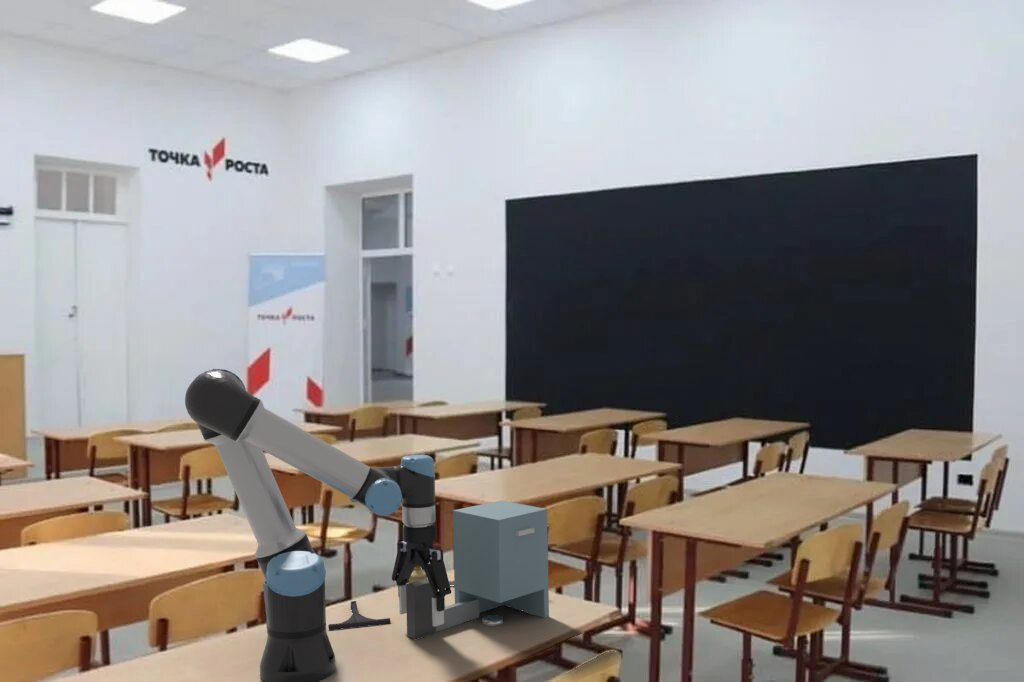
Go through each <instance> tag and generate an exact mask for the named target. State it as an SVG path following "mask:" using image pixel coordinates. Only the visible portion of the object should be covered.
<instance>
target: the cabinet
mask: <svg viewBox="0 0 1024 682" xmlns="http://www.w3.org/2000/svg"><path fill="white" fill-rule="evenodd" d="M452 525H453V531H452V532H453V572H454V574H453V575H454V576H453V578H454V579H453V580H454V586H453V587H454V604H456V603H460V602H463V601H466V600H469V599H473V598H477V599H479V612H480V613H482V612H486V611H490V610H492V608H493V609H496V608H498V606H499V607H502V606H504V605H505V607H507V606H509V607H508V608H511V607H512V608H511V609H514V608H515V609H514V610H517V609H518V611H520V610H523V611H525V612H524V613H527V612H528V613H527V614H530V613H531V614H530V615H533V614H534V616H537V617H540V618H543V619H546V618H549V617H550V605H549V604H550V603H549V602H550V599H549V594H550V593H549V552H548V551H549V545H548V543H549V542H548V541H549V540H548V535H549V534H548V509H547V508H543V507H538V506H534V505H527V504H523V503H517V502H511V501H508V500H507V501H506V500H497V501H492V502H488V503H487V502H486V503H483V504H478V505H473V506H469V507H464V508H459V509H453V510H452ZM501 605H502V606H501ZM495 607H496V608H495ZM523 611H522V612H523Z"/></svg>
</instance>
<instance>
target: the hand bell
mask: <svg viewBox="0 0 1024 682" xmlns="http://www.w3.org/2000/svg"><path fill="white" fill-rule="evenodd" d="M424 579H428V578H427V576H426V573H425V571H424V570H422V568H421V566H419V565H417V564H416V565H415V567H414V570H413V572H412V574H411V576H410V578H409V581H410V582H409V581H408V583H407V584H409V583H413V582H416V581H420V580H424Z"/></svg>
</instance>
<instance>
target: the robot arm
mask: <svg viewBox="0 0 1024 682" xmlns="http://www.w3.org/2000/svg"><path fill="white" fill-rule="evenodd" d="M184 396H185V397H184V405H185V409H186V411H187V414H188V415H189V417H190V419H192V420H193V421H194V422H195V423H197V426H198V428H199V431H200V433H201V435H202V437H203V440H204V441H205V442H206V443H210V444H212V445H214V446H215V448H216V450H217V452H218V455H219V457H220V460H221V461H222V465H223V467H224V468H225V471H226V474H227V475H228V478H229V480H230V483H231V485H232V488H233V490H234V492H235V494H236V497H237V499H238V501H239V504H240V506H241V508H242V511H243V513H244V515H245V516H246V519H247V521H248V524H249V526H250V528H251V531H252V534H253V535H254V538H255V540H256V542H257V548H256V551H255V553H254V555H255V558H256V561H257V563H258V566H259V567H260V571H261V572H262V575H263V577H264V579H265V580H266V582H267V613H268V634H267V639H266V643H265V645H264V650H263V653H262V657H261V660H260V663H259V677H260V678H261V680H262V681H264V682H319V681H321V680H323V679H326V678H327V677H329V676H331V675H332V674H333V673H334V672H335V671H336V655H335V652H334V649H333V647H332V644H331V641H330V638H329V635H328V633H327V617H326V616H327V615H326V612H327V610H326V573H327V571H326V570H327V569H326V567H325V562H324V559H323V557H322V556H320V555H319V554H317V553H316V552H315V550H314V548H313V546H312V544H311V542H310V539H309V538H308V535H307V532H306V531H305V530H303V529H300V528H297V527H296V524H295V523H294V520H293V518H292V515H291V514H290V512H289V509H288V508H289V507H288V505H287V504H286V502H285V499H284V497H283V495H282V493H281V490H280V487H279V485H278V483H277V481H276V478H275V476H274V474H273V472H272V469H271V467H270V464H269V462H268V460H267V458H266V455H265V453H264V452H266V453H267V454H269V455H271V456H272V457H275V458H276V459H279V460H280V461H282V462H284V463H286V464H288V465H290V467H293V468H294V469H297V470H299V472H302V473H304V474H306V475H308V476H309V477H311V478H313V479H315V480H317V481H319V482H321V483H322V484H325V485H326V486H328V487H329V488H332V489H334V490H336V491H338V492H339V493H341V494H343V495H344V496H347V497H348V498H349V501H351V503H358V504H361V505H363V506H364V507H366V508H367V509H368V510H369V511H370V512H371V513H372V514H374V515H377V516H380V517H383V516H385V517H386V516H390V515H392V514H393V513H395V512H397V510H398V509H399V508H400V507H401V508H402V509H401V511H402V512H401V514H402V517H401V518H402V519H401V520H402V523H403V526H402V540H403V541H399V542H397V553H396V558H395V562H394V567H393V570H392V575H391V581H393V582H396V585H397V591H398V593H397V595H398V599H399V604H398V606H399V615H401V616H402V615H404V614H405V615H406V614H407V607H406V584H408V582H410V581H409V578H410V576H411V574H412V572H413V571H414V567H415V565H416V564H417V565H419V566H421V571H423V572H425V573H426V576H427V579H428V581H429V583H430V586H431V588H432V591H433V593H434V596H432V626H434V627H435V626H438V625H441V624H444V609H445V607H446V605H445V604H446V603H445V602H446V601H445V597H446V596H447V595H451V594H452V590H451V586H450V584H449V581H450V580H449V576H448V573H447V569H446V565H445V562H444V551H443V549H437V550H436V549H435V548H434V545H433V544H434V542H435V540H436V539H437V525H436V524H435V522H436V521H437V520H436V474H435V463H434V458H433V457H432V456H430V455H427V454H411V455H406V456H403V457H401V458H400V459H401V460H400V465H393V466H379V467H375V466H374V467H371V466H369V465H367V464H365V463H363V462H362V461H360V460H358V459H356V458H355V457H352V456H351V455H349V454H347V453H346V452H344V451H341V450H340V449H338V448H336V447H335V446H333V445H331V444H330V443H328V442H326V441H324V440H323V439H320V438H319V437H317V436H315V435H314V434H312V433H310V432H308V431H306V430H305V429H303V428H301V427H299V426H297V425H296V424H294V423H292V422H290V421H288V420H286V419H285V418H284V417H281V416H280V415H278V414H276V413H274V412H272V411H271V410H269V409H268V408H265V406H264V403H263V400H262V399H260V398H258V397H256V396H255V395H253V394H252V393H250V392H249V391H247V389H246V387H245V383H244V382H243V380H241V378H240V377H239V376H238V375H237V374H235V373H234V372H232V371H230V370H227V369H223V368H212V369H209V370H205V371H203V372H201V373H200V374H198V376H196V377H195V378H194V379H193V380H192V381H191V383H190V384H189V386H188V387H187V389H186V392H185V395H184ZM401 504H402V505H401ZM265 580H264V581H265Z"/></svg>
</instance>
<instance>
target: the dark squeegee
mask: <svg viewBox="0 0 1024 682" xmlns="http://www.w3.org/2000/svg"><path fill="white" fill-rule="evenodd" d="M350 610H352V611H351V616H350V617H349V618H348V619H346V620H345V621H342V622H340V623H329V624H328V626H327V627H328V631H335V630H334V629H337V630H342V629H341V628H346V629H351V628H350V627H355V628H360V627H359V626H364V627H369V626H368V625H373V626H381V625H387V624H388V625H391V622H392V621H391V618H390V617H387V618H379V619H375V618H370V617H366V616H364V615H363V614H361V613H359V608H358V604H357V601H356V600H354V601H353V600H352V601H350ZM352 613H353V614H352ZM379 624H381V625H379Z"/></svg>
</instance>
